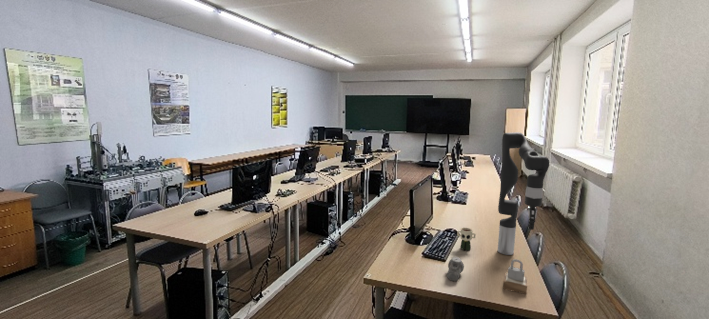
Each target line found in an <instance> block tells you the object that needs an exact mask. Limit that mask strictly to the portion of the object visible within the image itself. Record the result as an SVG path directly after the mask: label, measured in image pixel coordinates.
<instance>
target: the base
mask: <svg viewBox="0 0 709 319" xmlns="http://www.w3.org/2000/svg"><path fill="white" fill-rule="evenodd" d="M506 289H507V290H508V291H511V290H512V292H515V291H516V293H519V292H520V294H525V295H527V293H528V292H527V290H528V277H527V276H524V280H523V281H518V280H514V279H511V278H508V272H505V273H504V281H503V290H506Z"/></svg>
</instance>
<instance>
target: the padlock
mask: <svg viewBox="0 0 709 319" xmlns="http://www.w3.org/2000/svg"><path fill="white" fill-rule="evenodd" d="M516 262H517V263H519V265H520V267H519V268H518V267H514V263H516ZM523 267H524V264H523V262H522V261H521V260H520V259H518V258H517V259H515V258H513V259H512V260H511V262H510V266H508V268H507V273H508V278H511V279H514V280H518V281H523V280H524V277H525V271H526V270H525V269H523Z"/></svg>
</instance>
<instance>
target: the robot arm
mask: <svg viewBox="0 0 709 319" xmlns="http://www.w3.org/2000/svg"><path fill="white" fill-rule="evenodd" d="M501 149H502V152H501V169H500V170H501V171H500V188H499V189H500V192H499V198H498V206H497V210H498V211H497V212H498V213H499V214H500V215H503V216H504V215H505V216H509V217H507V218H501V219H500V220H499V226H498V240H497V241H498V242H497V253H500V254H503V255H504V256H505V255H507V256H512V255H514V252H515V245H516V231H517V230H516V229H517V218H518V210H519V203H518V201H517V200H512V199H511V200H510V199H506V197H507V195H508V193H509V192H510V191H511V189H513V187H515V185H517V182H518V181H519V180H518V178H519V168H518V167H517V164H516V162H514V160H513V158H512V156H511V152H510V151H511V149H518V155H519V157H520V158H521V159H522V160H523V162H524V167H525V169H527V170H529V171H536V172H535V173H533V174H528V175H527V180H526V187H525V188H526V189H525V196H524V204H525V206H526V205H527V206H528V207H527V213H528V215H527V217H528V230H530V231H531V230H532V231H534V228H535V223H536V219H537V212H538V208H539V207H541V206H542V205H543V194H544V191H543V190H544V187H543V186H544V180H545V177H546V174H547V172H548V169H549V168H550V159H549V158H548V157H547V156H545V155H538V154H539V153H537V151H536V150H535V149H533V148H532V147H531V145H530V143H529V142H528V140H527V137H526V136H525V135H524V134H523V133H522V132H515V131H514V132H505V133H503V135H502V140H501ZM537 207H538V208H537Z"/></svg>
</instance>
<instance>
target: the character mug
mask: <svg viewBox="0 0 709 319" xmlns="http://www.w3.org/2000/svg"><path fill="white" fill-rule="evenodd" d="M456 236H458V237H460V240H461V242H460V246H459V247H460V249H461V250H465V251H470V250H471V247H472V246H471V241H472V239H476V233H474V232H473V229H472V228H470V227H461V228H460V230H457V235H456Z"/></svg>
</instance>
